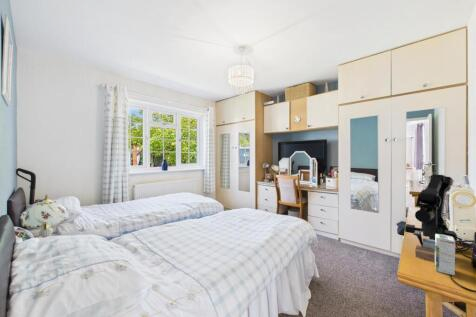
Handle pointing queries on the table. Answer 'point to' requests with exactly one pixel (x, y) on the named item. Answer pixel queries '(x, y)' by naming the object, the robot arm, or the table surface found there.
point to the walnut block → (425, 253)
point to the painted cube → (429, 243)
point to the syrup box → (445, 254)
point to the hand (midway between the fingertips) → (429, 248)
